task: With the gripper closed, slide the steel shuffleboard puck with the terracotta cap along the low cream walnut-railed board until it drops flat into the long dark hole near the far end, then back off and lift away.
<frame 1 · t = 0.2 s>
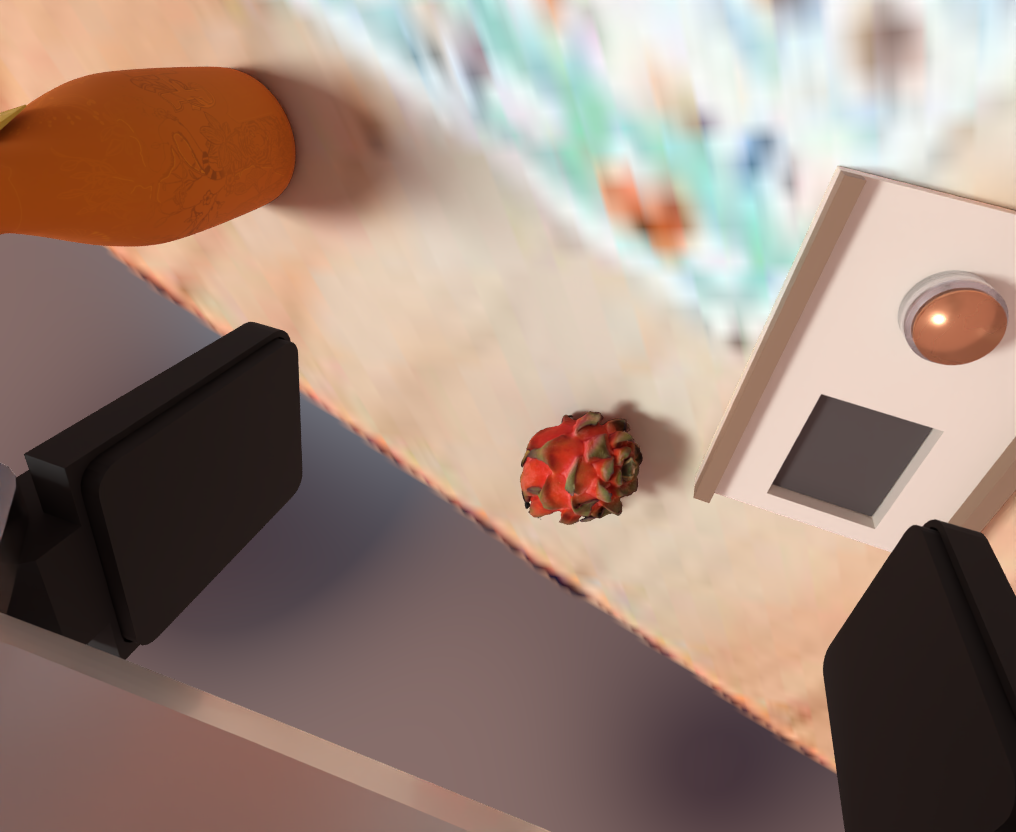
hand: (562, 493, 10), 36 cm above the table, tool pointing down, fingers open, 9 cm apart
puck: (945, 310, 39), point 1 cm above the table, touching board
dragon fruit: (585, 447, 53), on the table
board: (889, 383, 43), on the table
wine bottle: (247, 137, 48), on the table
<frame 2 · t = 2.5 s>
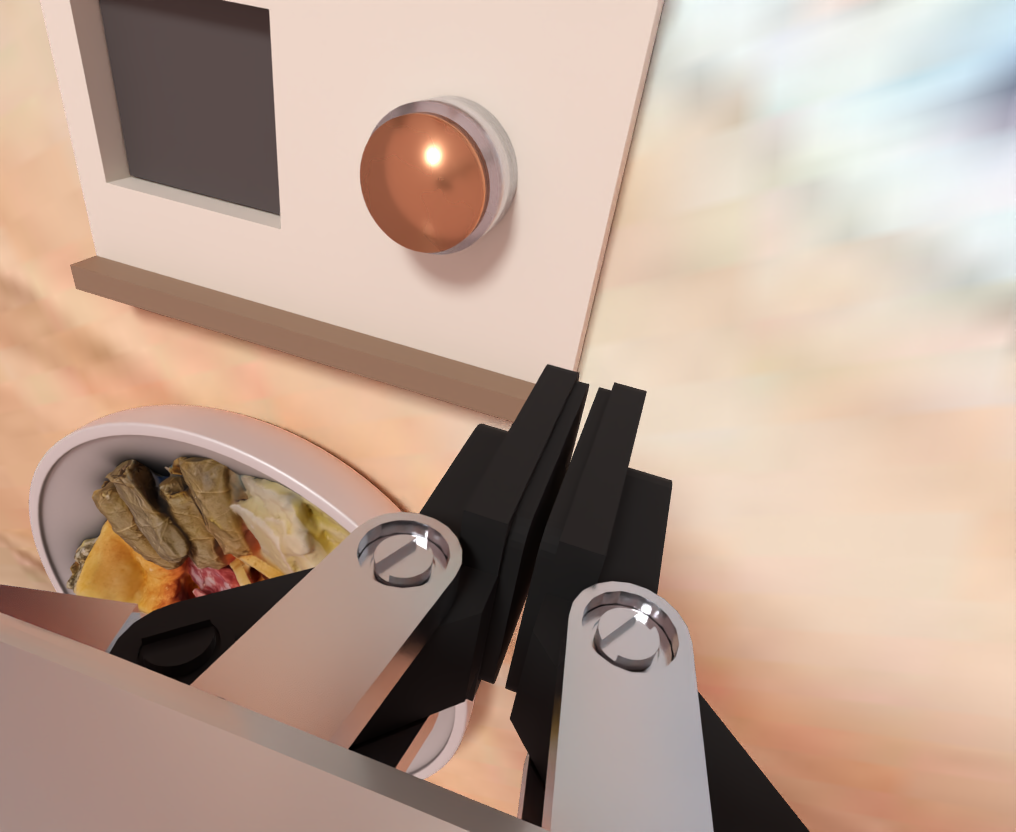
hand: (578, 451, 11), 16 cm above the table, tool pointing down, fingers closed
puck: (453, 170, 24), point 1 cm above the table, touching board
bowl: (286, 576, 43), on the table
board: (330, 131, 26), on the table
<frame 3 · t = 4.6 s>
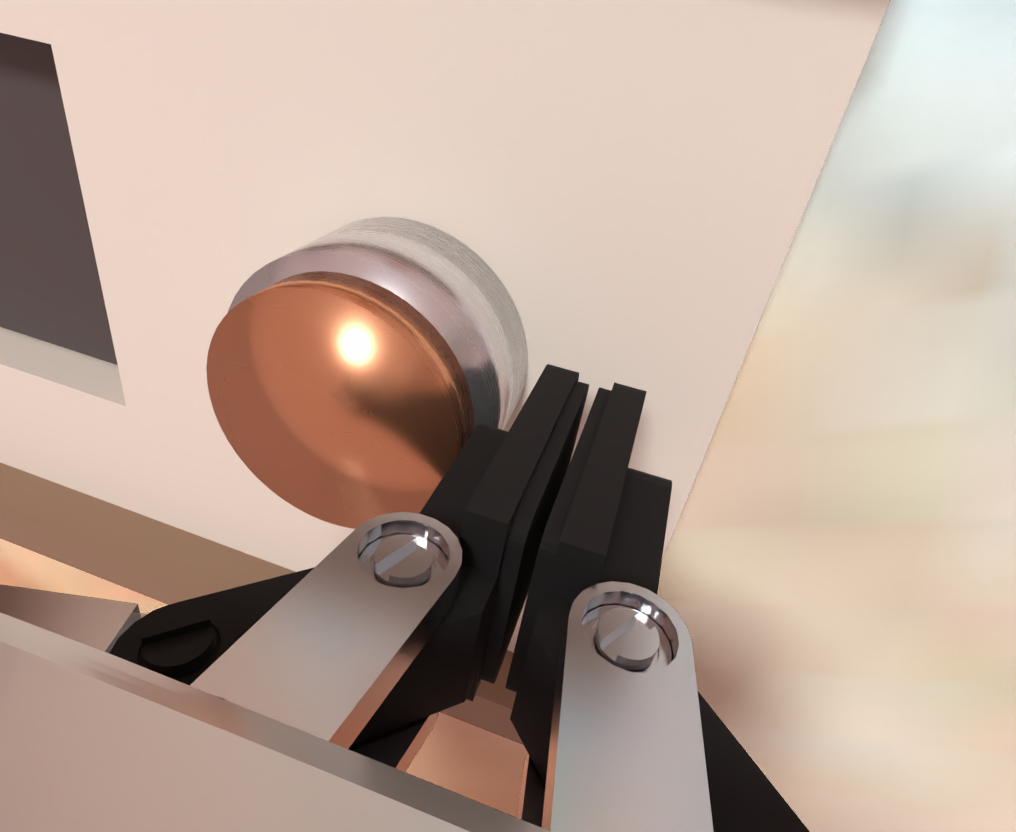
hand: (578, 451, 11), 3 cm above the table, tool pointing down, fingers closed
puck: (406, 345, 13), point 2 cm above the table, touching gripper
board: (201, 251, 15), on the table
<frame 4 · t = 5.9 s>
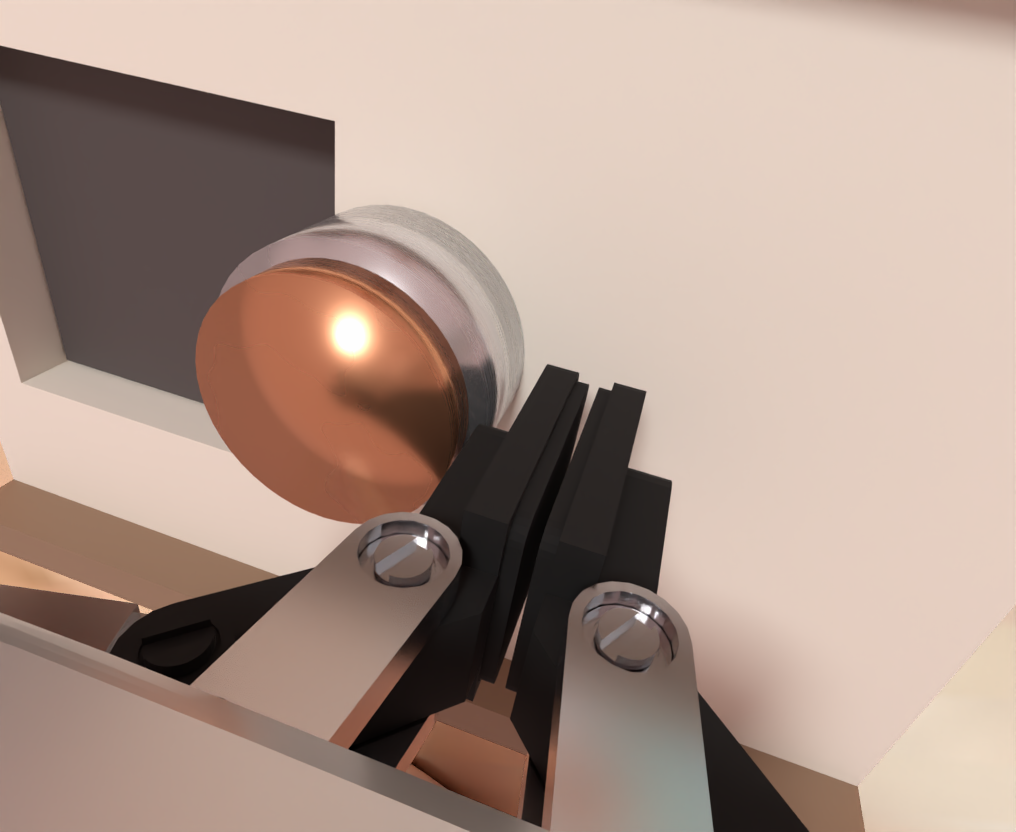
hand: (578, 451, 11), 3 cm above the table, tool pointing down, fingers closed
puck: (400, 337, 12), point 2 cm above the table, touching board, gripper
board: (432, 326, 14), on the table
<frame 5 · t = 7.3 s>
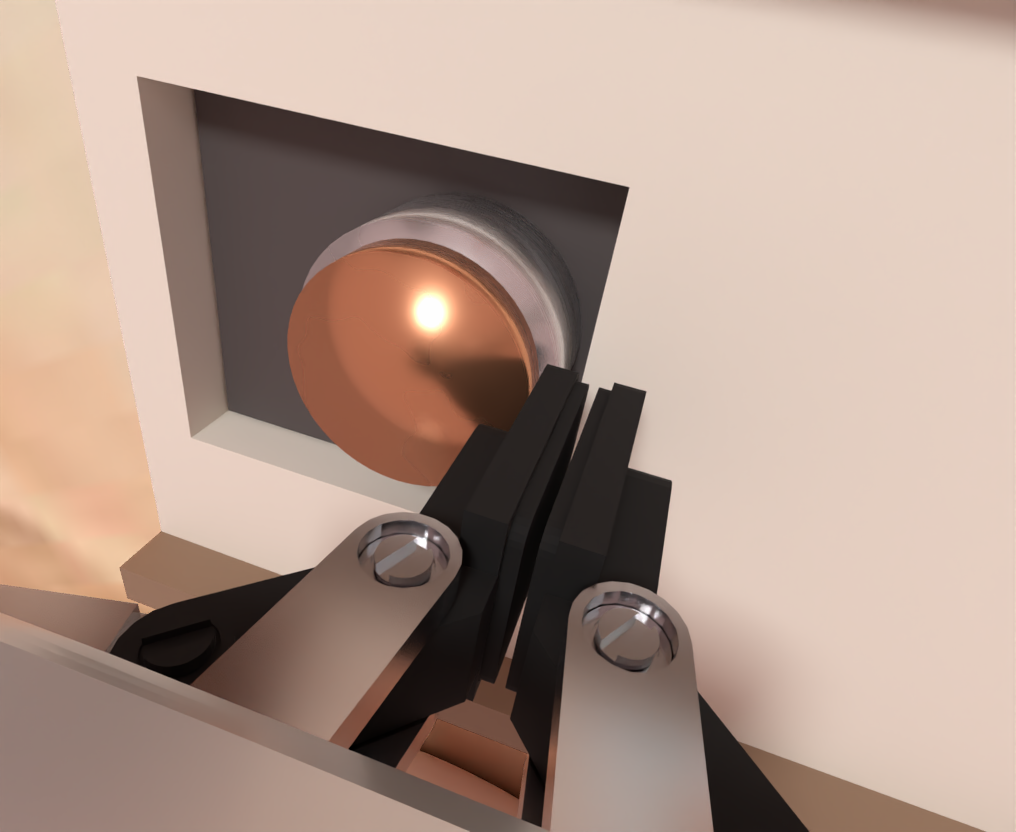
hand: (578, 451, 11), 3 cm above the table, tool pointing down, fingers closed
puck: (463, 316, 13), resting on board, touching gripper
board: (662, 389, 13), on the table
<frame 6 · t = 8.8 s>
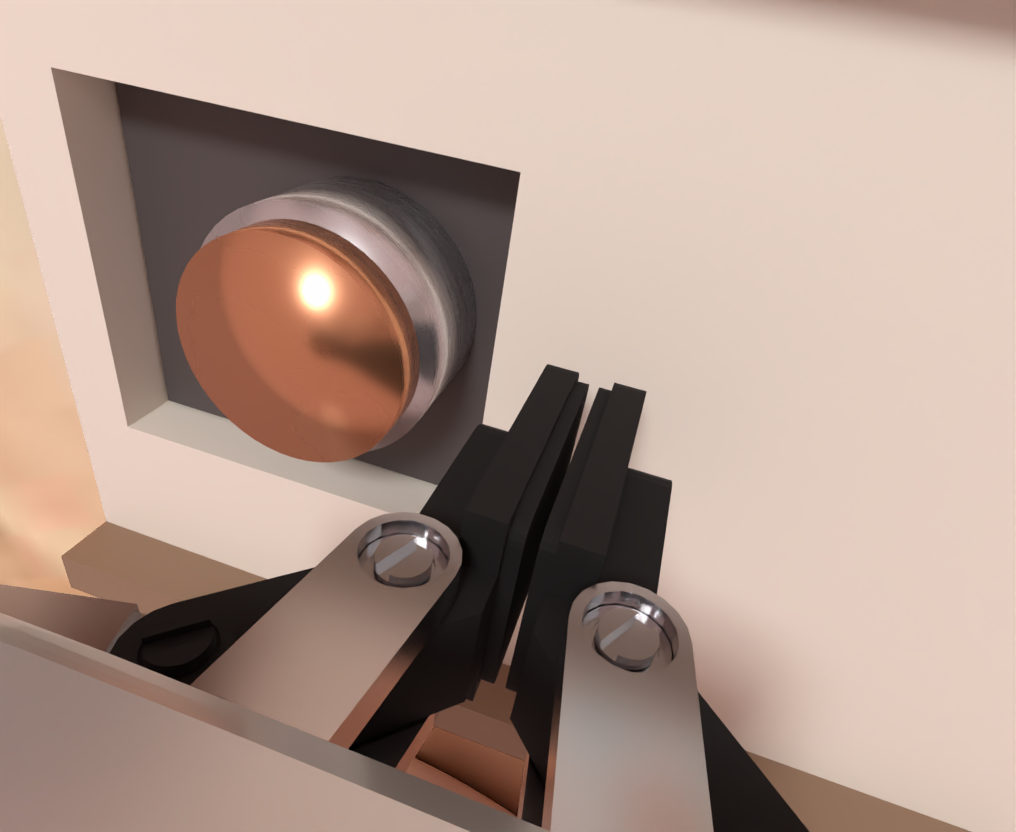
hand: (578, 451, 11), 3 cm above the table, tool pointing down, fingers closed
puck: (365, 298, 14), resting on board
board: (578, 373, 13), on the table
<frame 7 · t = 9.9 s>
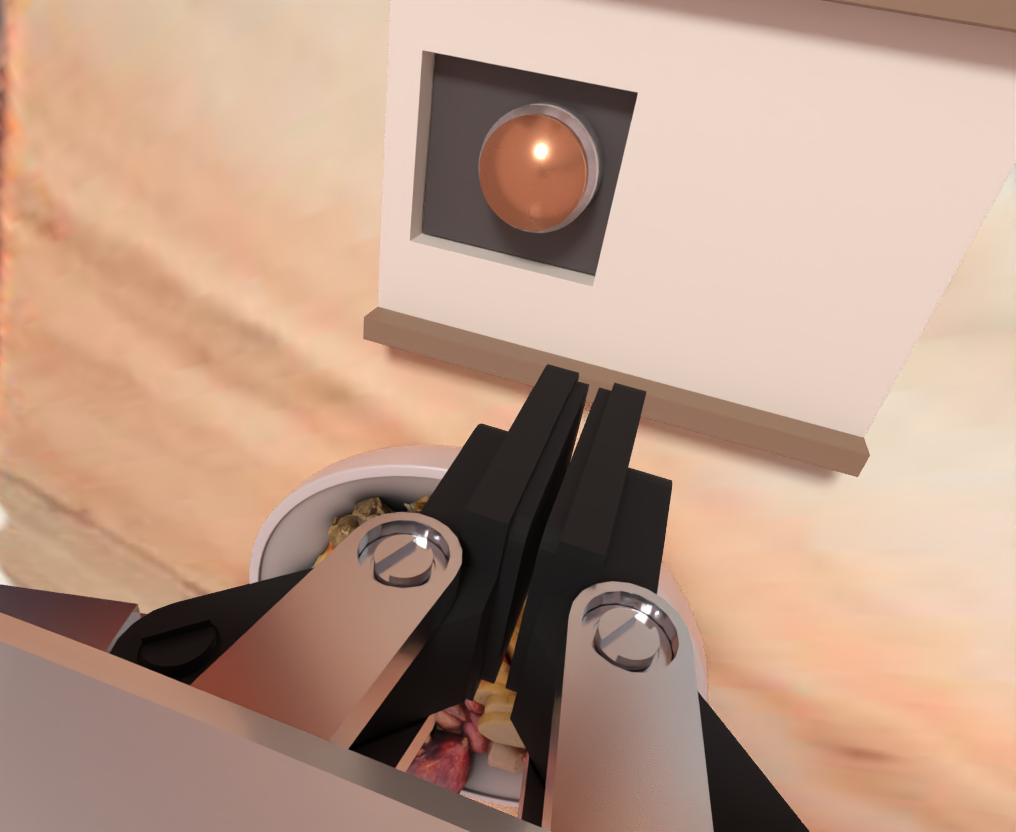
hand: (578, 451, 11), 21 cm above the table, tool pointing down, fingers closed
puck: (548, 163, 28), resting on board
bowl: (484, 604, 45), on the table
board: (652, 197, 28), on the table
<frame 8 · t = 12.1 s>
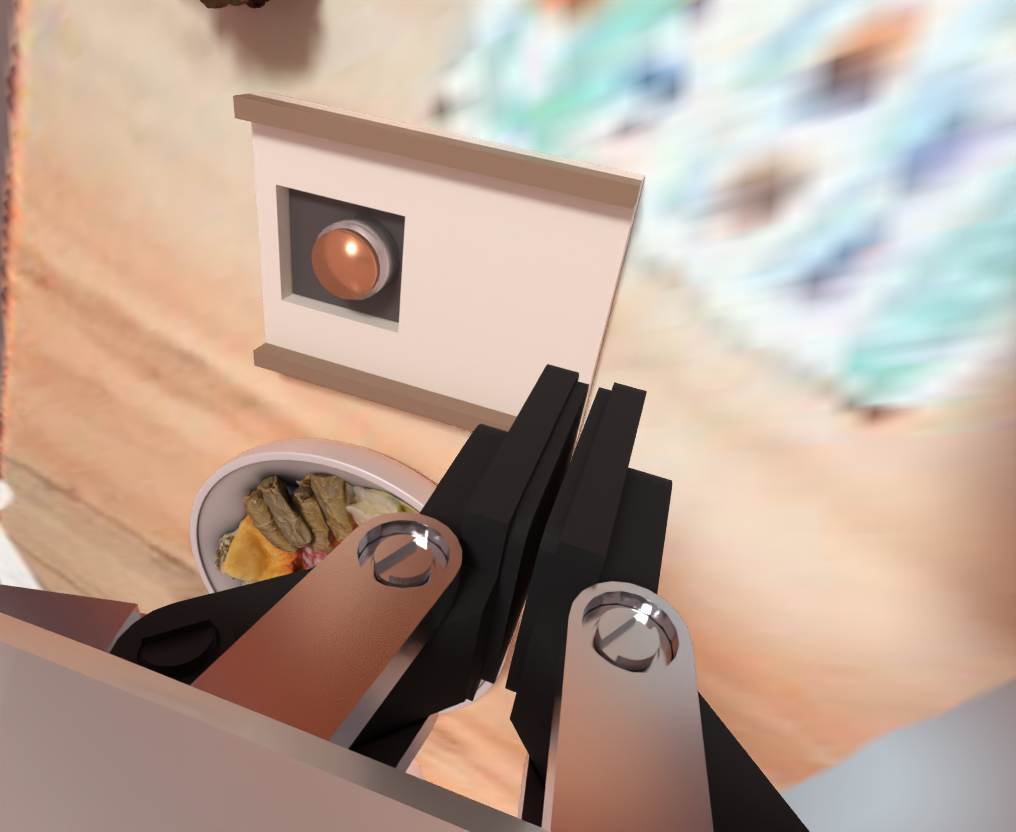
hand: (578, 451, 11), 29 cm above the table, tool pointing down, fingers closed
puck: (365, 252, 43), resting on board
bowl: (368, 559, 59), on the table
board: (431, 276, 43), on the table
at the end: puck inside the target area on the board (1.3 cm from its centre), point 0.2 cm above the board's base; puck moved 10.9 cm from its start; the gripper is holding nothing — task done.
